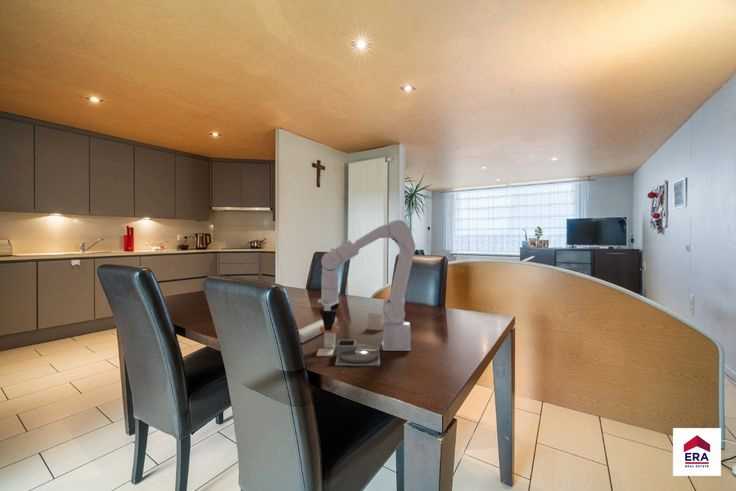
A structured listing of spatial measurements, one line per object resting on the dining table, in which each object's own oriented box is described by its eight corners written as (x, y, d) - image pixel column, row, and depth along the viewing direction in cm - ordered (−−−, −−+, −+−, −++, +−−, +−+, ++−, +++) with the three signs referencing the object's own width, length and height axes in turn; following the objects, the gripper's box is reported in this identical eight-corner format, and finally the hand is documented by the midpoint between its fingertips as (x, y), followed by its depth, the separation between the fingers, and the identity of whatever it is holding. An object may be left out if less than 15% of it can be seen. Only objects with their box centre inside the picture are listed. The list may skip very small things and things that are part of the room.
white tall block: (339, 346, 110) (339, 325, 110) (338, 350, 107) (338, 328, 106) (321, 346, 110) (321, 325, 110) (319, 350, 107) (319, 328, 106)
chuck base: (378, 349, 108) (378, 348, 108) (380, 365, 94) (380, 364, 94) (339, 349, 108) (339, 347, 108) (335, 365, 94) (335, 363, 94)
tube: (303, 335, 110) (339, 318, 133) (291, 329, 112) (329, 312, 135) (299, 349, 111) (336, 329, 134) (288, 342, 113) (325, 324, 136)
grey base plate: (378, 347, 108) (378, 336, 107) (379, 363, 95) (379, 350, 94) (338, 347, 107) (338, 336, 107) (334, 362, 94) (334, 350, 94)
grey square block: (369, 328, 134) (369, 310, 134) (385, 329, 132) (385, 311, 132) (367, 330, 131) (368, 312, 130) (384, 331, 129) (384, 313, 129)
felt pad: (333, 350, 107) (333, 348, 106) (332, 356, 102) (332, 354, 101) (318, 350, 107) (318, 348, 106) (316, 356, 102) (316, 354, 101)
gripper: (321, 284, 115) (321, 321, 115) (314, 291, 100) (314, 333, 101) (340, 284, 115) (340, 321, 115) (336, 291, 100) (336, 333, 101)
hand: (329, 326), depth 108 cm, fingers open, 7 cm apart
